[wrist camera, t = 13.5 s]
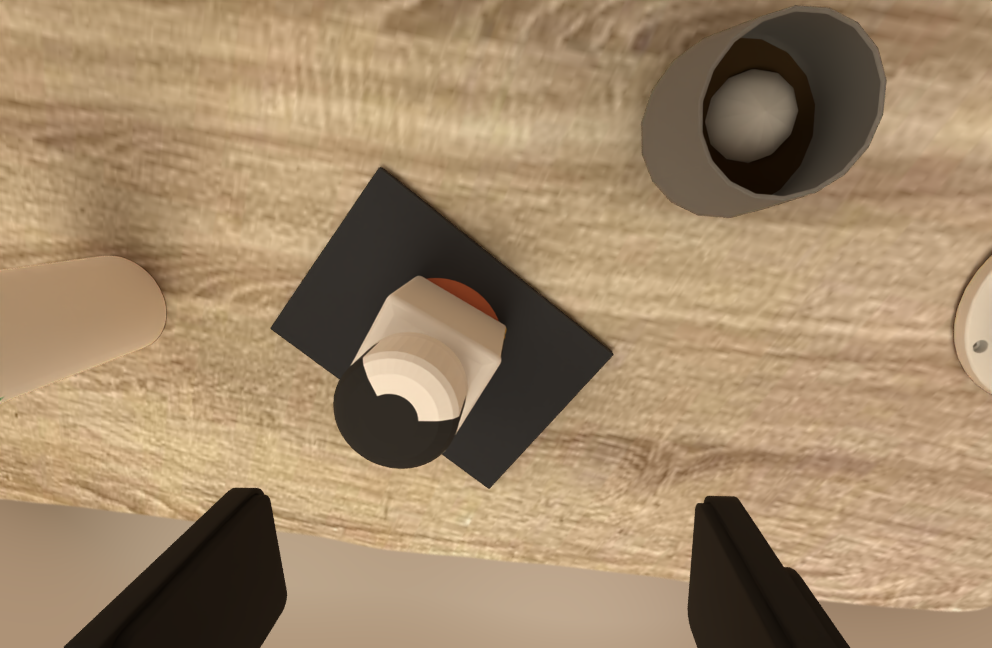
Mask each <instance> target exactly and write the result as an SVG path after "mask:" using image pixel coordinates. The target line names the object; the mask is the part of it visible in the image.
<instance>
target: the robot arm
mask: <svg viewBox="0 0 992 648" xmlns="http://www.w3.org/2000/svg"><path fill="white" fill-rule="evenodd" d="M954 343H955V347H956V352H957V356H958V359H959V361H960V363H961V365H962V367H963V369H964V371H965V372H966V374H967V375H968V376H969V377H970V378H971V379H972V380H973V381H974V383H975V384H976V385H978V386H979V387H981V388H982V389H983V390H985V391H986V392H988V393H989V394H991V395H992V255H991V256H990V257H989V258H988V259H987V261H986V262H985V263H984V264H983V265H982V266H981V267H980V268H979V270H978V271H977V272H976V273H975V275H974V277H973V278H972V280H971V281H970V283H969V284H968V286H967V288H966V289H965V291H964V294H963V296H962V299H961V301H960V303H959V306H958V309H957V314H956V319H955V324H954ZM286 600H287V590H286V585H285V579H284V573H283V568H282V562H281V557H280V551H279V546H278V540H277V535H276V529H275V524H274V518H273V513H272V507H271V502H270V498H269V497H268V496H267V495H264V493H263V491H262V490H261V489H259V488H232V489H231V490H229V491H228V492H227V493H226V494H225V495H224V496H223V497H222V498H221V499H220V500H219V501H217V502H216V503H215V504H214V505H213V506H212V507H211V508H210V509H209V510H208V511H207V512H206V513H205V514H204V515H203V516H202V517H201V518H199V519H198V520H197V521H196V522H195V523H194V524H193V525H192V526H191V527H190V528H189V529H188V530H187V531H186V532H185V533H184V534H183V535H181V536H180V537H179V539H177V540H176V541H175V542H174V543H173V544H172V545H171V546H170V547H169V548H168V549H167V550H166V551H165V552H164V553H163V554H161V555H160V556H159V557H158V558H157V559H156V560H155V561H154V562H153V563H152V564H151V565H150V566H149V567H148V568H147V569H146V570H145V571H144V572H142V573H141V574H140V575H139V576H138V577H137V578H136V579H135V580H134V581H133V582H132V583H131V584H130V585H129V586H128V587H126V588H125V590H123V591H122V592H121V593H120V594H119V595H118V596H117V597H116V598H115V599H114V600H113V601H112V602H111V603H110V604H109V605H107V606H106V607H105V608H104V609H103V610H102V611H101V612H100V613H99V614H98V615H97V616H96V617H95V618H94V619H93V620H92V621H91V622H89V623H88V624H87V625H86V626H85V627H84V628H83V629H82V630H81V631H80V632H79V633H78V634H77V635H76V636H75V637H74V638H73V639H72V640H70V641H69V642H68V643H67V644H66V645H65V646H64V648H260V647H261V645H262V644H263V642H264V641H265V639H266V637H267V636H268V634H269V633H270V631H271V629H272V628H273V626H274V624H275V623H276V621H277V620H278V618H279V616H280V615H281V613H282V611H283V609H284V607H285V604H286ZM688 618H689V624H690V628H691V631H692V633H693V636H694V639H695V642H696V645H697V648H850V647H849V645H848V644H847V643H846V641H845V640H844V638H843V637H842V635H841V634H840V633H839V631H838V630H837V628H836V627H835V625H834V624H833V622H832V621H831V619H830V618H829V617H828V615H827V614H826V612H825V611H824V609H823V608H822V607H821V605H820V604H819V602H818V601H817V599H816V598H815V596H814V595H813V594H812V592H811V591H810V589H809V588H808V586H807V585H806V583H805V582H804V581H803V579H802V578H801V576H800V575H799V574H798V573H797V572H796V571H795V570H794V569H792V568H790V567H783V565H782V564H781V562H780V561H779V559H778V558H777V556H776V555H775V553H774V552H773V550H772V549H771V547H770V546H769V544H768V543H767V541H766V540H765V538H764V537H763V535H762V534H761V532H760V531H759V529H758V528H757V526H756V525H755V523H754V522H753V520H752V519H751V517H750V516H749V514H748V513H747V511H746V510H745V508H744V507H743V505H742V504H741V502H740V501H739V499H738V498H737V497H734V496H707V497H706V498H705V500H704V503H698V504H697V505H696V508H695V519H694V532H693V545H692V558H691V571H690V584H689V597H688Z"/></svg>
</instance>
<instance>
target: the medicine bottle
mask: <svg viewBox="0 0 992 648" xmlns="http://www.w3.org/2000/svg"><path fill="white" fill-rule="evenodd" d="M506 330H507V329H506V326H505V325H504V324H502V323H500V322H499V321H497V320H495V319H493V318H492V317H490V316H488V315H487V314H485V313H483V312H482V311H480V310H478V309H476V308H475V307H473V306H471V305H470V304H468V303H466V302H464V301H463V300H461V299H459V298H458V297H456V296H454V295H453V294H451V293H449V292H447V291H446V290H444V289H442V288H441V287H439V286H437V285H436V284H434V283H432V282H430V281H429V280H427V279H425V278H424V277H422V276H416V277H415V278H413V279H412V280H410V281H409V282H408V283H406V284H405V285H403V286H402V287H400V288H399V289H398V290H396V291H395V292H393V293H392V294H390V295H389V296H388V297H387V299H386V300H385V302H384V304H383V306H382V308H381V310H380V312H379V314H378V315H377V317H376V319H375V321H374V323H373V325H372V327H371V329H370V330H369V332H368V334H367V336H366V338H365V340H364V342H363V344H362V345H361V347H360V349H359V351H358V353H357V355H356V357H355V359H354V360H353V362H352V364H351V366H350V367H349V368H348V369H347V370H346V371H345V373H344V374H343V375H342V377H341V379H340V380H339V382H338V385H337V387H336V390H335V394H334V402H333V407H334V415H335V420H336V423H337V426H338V428H339V430H340V432H341V434H342V436H343V437H344V439H345V440H346V442H347V443H348V444H349V445H350V446H351V447H352V448H353V449H354V450H355V451H356V452H357V453H358V454H360V455H361V456H363V457H364V458H366V459H367V460H369V461H371V462H373V463H376V464H378V465H381V466H385V467H389V468H398V469H404V468H413V467H418V466H421V465H424V464H427V463H429V462H431V461H433V460H434V459H436V458H437V457H439V456H440V455H441V454H442V453H444V452H445V450H446V449H447V448H448V447H449V445H450V444H451V442H452V441H453V439H454V436H455V435H456V433H457V431H458V430H459V428H460V427H461V425H462V423H463V422H464V420H465V419H466V417H467V416H468V414H469V412H470V411H471V409H472V408H473V406H474V404H475V403H476V401H477V400H478V398H479V397H480V395H481V393H482V392H483V390H484V389H485V387H486V385H487V384H488V382H489V381H490V379H491V378H492V376H493V374H494V373H495V371H496V370H497V368H498V366H499V365H500V363H501V360H502V354H503V348H504V342H505V336H506Z"/></svg>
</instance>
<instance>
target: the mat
mask: <svg viewBox="0 0 992 648" xmlns="http://www.w3.org/2000/svg"><path fill="white" fill-rule="evenodd" d="M416 276H422V277H424V278H425V279H427V280H429V281H430V282H432V283H434V284H436V285H437V286H439V287H441V288H442V289H444V290H446V291H447V292H449V293H451V294H453V295H454V296H456V297H458V298H459V299H461V300H463V301H464V302H466V303H468V304H470V305H471V306H473V307H475V308H476V309H478V310H480V311H482V312H483V313H485V314H487V315H488V316H490V317H492V318H493V319H495V320H497V321H499V322H500V323H502V324H504V325H505V326H506V329H507V330H506V336H505V342H504V348H503V354H502V360H501V363H500V365H499V366H498V368H497V370H496V371H495V373H494V374H493V376H492V378H491V379H490V381H489V382H488V384H487V385H486V387H485V389H484V390H483V392H482V393H481V395H480V397H479V398H478V400H477V401H476V403H475V404H474V406H473V408H472V409H471V411H470V412H469V414H468V416H467V417H466V419H465V420H464V422H463V423H462V425H461V427H460V428H459V430H458V431H457V433H456V435H455V436H454V439H453V441H452V442H451V444H450V445H449V447H448V448H447V449H446V450H445V452H444V453H442V455H443V456H445V457H446V458H448V459H449V460H450V461H452V462H453V463H454V464H456V465H457V466H458V467H460V468H461V469H463V470H464V471H465V472H467V473H468V474H469V475H471V476H472V477H473V478H475V479H476V480H478V481H479V482H480V483H482V484H483V485H484V486H486V487H487V488H488V489H490V487H491V486H492V485H493V484H494V483H495V482H496V481H497V480H498V479H499V478H500V477H501V476H502V474H503V473H504V472H505V471H506V470H507V469H508V468H509V467H510V466H511V465H512V464H513V463H514V462H515V460H516V459H517V458H518V457H519V456H520V455H521V454H522V453H523V452H524V451H525V450H526V449H527V448H528V446H529V445H530V444H531V443H532V442H533V441H534V440H535V439H536V438H537V437H538V436H539V435H540V433H541V432H542V431H543V430H544V429H545V428H546V427H547V426H548V425H549V424H550V423H551V422H552V421H553V419H554V418H555V417H556V416H557V415H558V414H559V413H560V412H561V411H562V410H563V409H564V408H565V406H566V405H567V404H568V403H569V402H570V401H571V400H572V399H573V398H574V397H575V396H576V395H577V394H578V392H579V391H580V390H581V389H582V388H583V387H584V386H585V385H586V384H587V383H588V382H589V381H590V379H591V378H592V377H593V376H594V375H595V374H596V373H597V372H598V371H599V370H600V369H601V368H602V367H603V365H604V364H605V363H606V362H607V361H608V360H609V359H610V358H611V357H612V356H613V353H612V351H610V350H609V349H608V348H607V347H605V346H604V345H603V344H602V343H600V342H599V341H598V340H597V339H595V338H594V337H593V336H592V335H590V334H589V333H588V332H587V331H585V330H584V329H583V328H582V327H580V326H579V325H578V324H577V323H575V322H574V321H573V320H572V319H570V318H569V317H568V316H567V315H565V314H564V313H563V312H562V311H560V310H559V309H558V308H557V307H555V306H554V305H553V304H552V303H550V302H549V301H548V300H547V299H545V298H544V297H543V296H542V295H541V294H539V293H538V292H537V291H536V290H534V289H533V288H532V287H531V286H529V285H528V284H527V283H526V282H524V281H523V280H522V279H521V278H519V277H518V276H517V275H516V274H514V273H513V272H512V271H511V270H509V269H508V268H507V267H506V266H504V265H503V264H502V263H501V262H499V261H498V260H497V259H496V258H494V257H493V256H492V255H491V254H489V253H488V252H487V251H486V250H484V249H483V248H482V247H481V246H479V245H478V244H477V243H476V242H474V241H473V240H472V239H471V238H469V237H468V236H467V235H466V234H464V233H463V232H462V231H461V230H459V229H458V228H457V227H456V226H454V225H453V224H452V223H451V222H449V221H448V220H447V219H446V218H444V217H443V216H442V215H441V214H439V213H438V212H437V211H436V210H434V209H433V208H432V207H431V206H430V205H428V204H427V203H426V202H425V201H423V200H422V199H421V198H420V197H418V196H417V195H416V194H415V193H413V192H412V191H411V190H410V189H408V188H407V187H406V186H405V185H403V184H402V183H401V182H400V181H398V180H397V179H396V178H395V177H393V176H392V175H391V174H390V173H388V172H387V171H386V170H385V169H383V168H381V167H379V168H378V170H377V171H376V173H375V174H374V176H373V177H372V179H371V180H370V182H369V183H368V185H367V186H366V188H365V189H364V191H363V192H362V194H361V195H360V197H359V198H358V199H357V201H356V202H355V204H354V205H353V207H352V208H351V210H350V211H349V213H348V214H347V216H346V217H345V219H344V220H343V222H342V223H341V225H340V226H339V228H338V229H337V231H336V232H335V233H334V235H333V236H332V238H331V239H330V241H329V242H328V244H327V245H326V247H325V248H324V250H323V251H322V253H321V254H320V256H319V257H318V259H317V260H316V262H315V263H314V265H313V266H312V267H311V269H310V270H309V272H308V273H307V275H306V276H305V278H304V279H303V281H302V282H301V284H300V285H299V287H298V288H297V290H296V291H295V293H294V294H293V296H292V297H291V299H290V300H289V301H288V303H287V304H286V306H285V307H284V309H283V310H282V312H281V313H280V315H279V316H278V318H277V319H276V321H275V322H274V324H273V325H272V327H271V328H270V329H272V330H273V331H274V332H276V333H277V334H278V335H280V336H281V337H282V338H284V339H285V340H287V341H288V342H289V343H291V344H292V345H293V346H295V347H296V348H297V349H299V350H300V351H302V352H303V353H304V354H306V355H307V356H308V357H310V358H311V359H312V360H314V361H315V362H317V363H318V364H319V365H321V366H322V367H323V368H325V369H326V370H327V371H329V372H330V373H332V374H333V375H334V376H336V377H337V378H338V379H341V377H342V375H343V374H344V373H345V371H346V370H347V369H348V368H349V367H350V366H351V364H352V362H353V360H354V359H355V357H356V355H357V353H358V351H359V349H360V347H361V345H362V344H363V342H364V340H365V338H366V336H367V334H368V332H369V330H370V329H371V327H372V325H373V323H374V321H375V319H376V317H377V315H378V314H379V312H380V310H381V308H382V306H383V304H384V302H385V300H386V299H387V297H388V296H389V295H390V294H392V293H393V292H395V291H396V290H398V289H399V288H400V287H402V286H403V285H405V284H406V283H408V282H409V281H410V280H412V279H413V278H415V277H416Z"/></svg>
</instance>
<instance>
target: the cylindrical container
mask: <svg viewBox="0 0 992 648" xmlns="http://www.w3.org/2000/svg"><path fill="white" fill-rule="evenodd" d="M165 321H166V305H165V300H164V297H163V295H162V292H161V290H160V288H159V286H158V285H157V283H156V282H155V280H154V279H153V278H152V277H151V276H150V274H149V273H148V272H147V271H145V270H144V269H143V268H142V267H141V266H139V265H138V264H136V263H134V262H133V261H130V260H128V259H125V258H123V257H118V256H98V257H91V258H83V259H76V260H69V261H62V262H54V263H47V264H40V265H33V266H25V267H18V268H11V269H3V270H0V404H1V403H3V402H6V401H8V400H11V399H14V398H16V397H19V396H21V395H24V394H27V393H29V392H32V391H34V390H37V389H39V388H42V387H45V386H47V385H50V384H52V383H55V382H57V381H60V380H63V379H65V378H68V377H70V376H73V375H76V374H78V373H81V372H83V371H86V370H88V369H91V368H94V367H96V366H99V365H101V364H104V363H106V362H109V361H112V360H114V359H117V358H119V357H122V356H125V355H127V354H130V353H132V352H135V351H137V350H140V349H143V348H145V347H147V346H149V345H151V344H152V343H153V342H154V341H156V340H157V338H158V337H159V336H160V334H161V333H162V331H163V328H164V326H165Z"/></svg>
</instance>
